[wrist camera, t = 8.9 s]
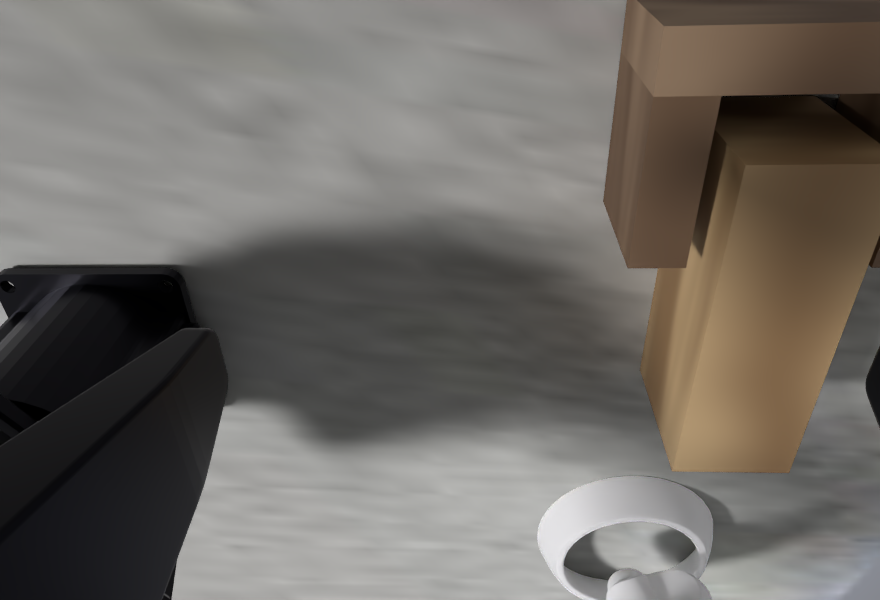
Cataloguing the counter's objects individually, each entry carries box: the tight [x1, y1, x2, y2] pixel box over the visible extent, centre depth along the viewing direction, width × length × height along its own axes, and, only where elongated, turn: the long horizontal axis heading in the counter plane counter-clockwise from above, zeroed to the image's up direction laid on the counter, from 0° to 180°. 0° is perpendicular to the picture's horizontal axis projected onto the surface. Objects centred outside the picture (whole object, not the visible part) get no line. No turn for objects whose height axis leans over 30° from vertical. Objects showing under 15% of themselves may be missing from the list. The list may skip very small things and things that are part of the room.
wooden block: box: [640, 96, 880, 473], centre depth 20 cm, size 4×10×5 cm, turn 2°
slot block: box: [603, 0, 880, 268], centre depth 17 cm, size 8×6×4 cm
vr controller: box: [537, 476, 713, 600], centre depth 26 cm, size 8×12×7 cm
